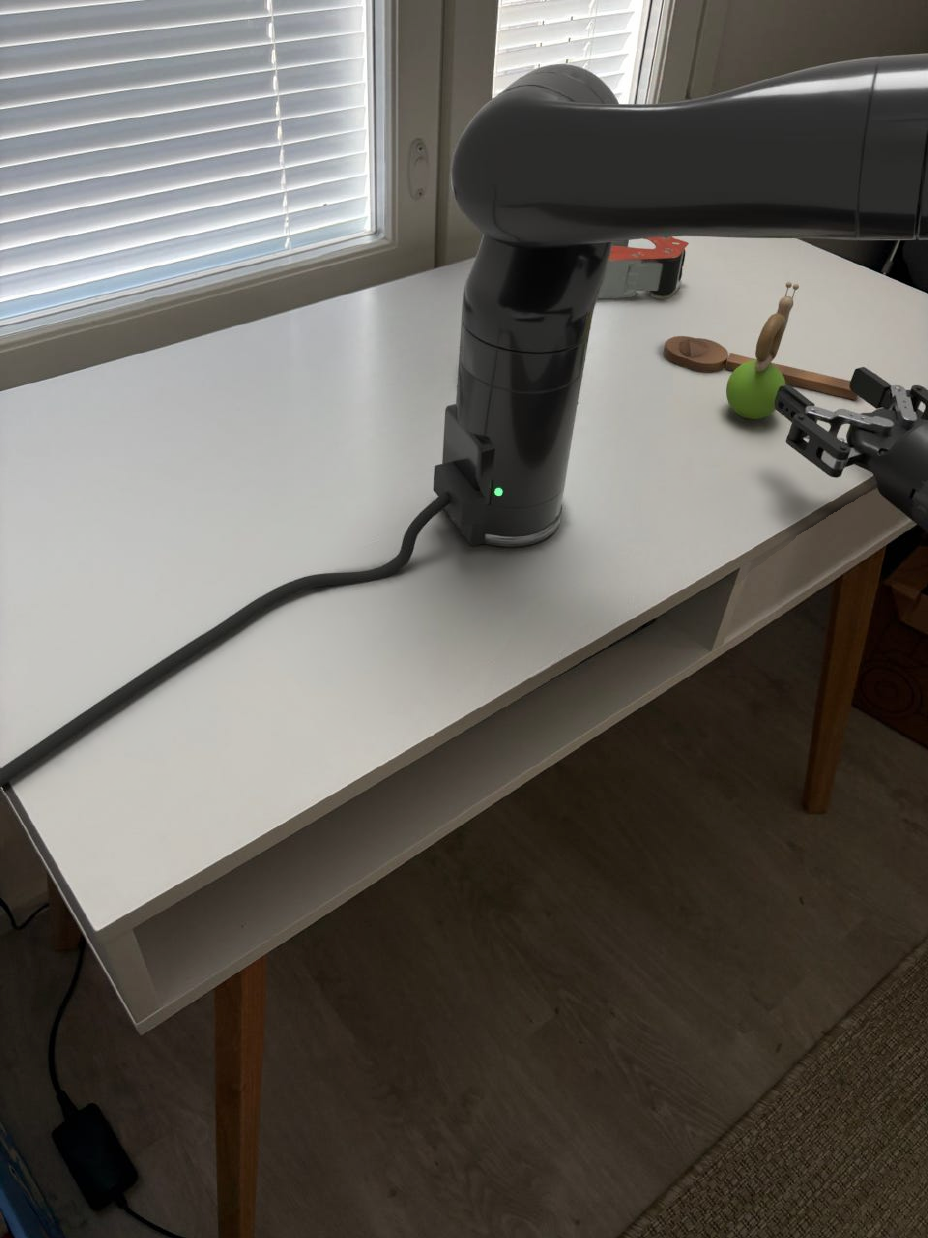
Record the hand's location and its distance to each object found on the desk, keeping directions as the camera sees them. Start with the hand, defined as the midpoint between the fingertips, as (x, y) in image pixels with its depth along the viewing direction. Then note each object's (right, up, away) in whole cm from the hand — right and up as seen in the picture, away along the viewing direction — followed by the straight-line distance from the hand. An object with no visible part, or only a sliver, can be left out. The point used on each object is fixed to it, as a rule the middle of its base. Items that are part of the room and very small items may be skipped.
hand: (817, 385), depth 89 cm
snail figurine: (-3, -1, +9) cm, 10 cm away
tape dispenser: (-16, +16, +26) cm, 34 cm away
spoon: (-1, +5, +14) cm, 15 cm away
